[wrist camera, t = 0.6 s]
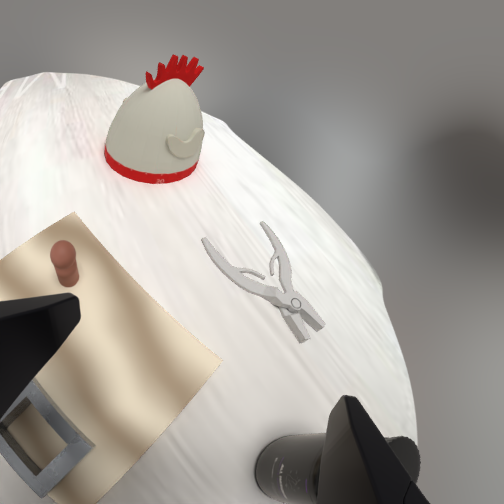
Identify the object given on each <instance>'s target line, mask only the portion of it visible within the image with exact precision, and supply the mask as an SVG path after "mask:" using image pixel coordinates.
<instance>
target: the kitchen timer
mask: <svg viewBox="0 0 504 504" xmlns="http://www.w3.org/2000/svg"><path fill="white" fill-rule="evenodd" d="M187 59H188V57H186V56H184V55H182V57H181V59H180V61H179V63H178V56H176V55H172V57H171V59H170V61H169V63H168V65H167V67H166V68H165V65H164V64H162V63H159V64H158V73H157V77H156V78H155V79H153V78H152V75H151V74H150V73H148V72H146V83H145V84H143V85H142V86H140V87H139V88H138V89H136V90H135V91H134V92H133V93H132V94H131V95H130V96H129V97H128V98H125V99H124V101H123V104H122V105H121V107H120V108H119V110H118V112H117V114H116V116H115V118H114V120H113V122H112V124H111V126H110V128H109V131H108V135H107V139H106V143H105V152H104V154H105V158H106V162H107V163H108V164H109V165H110V167H111V168H112V169H113V170H114V171H116V172H117V173H119V174H120V175H122V176H124V177H126V178H129V179H132V180H135V181H138V182H144V183H151V184H161V183H171V182H175V181H179V180H182V179H183V178H185V177H187V176H189V175H190V174H191V173H192V172H193V171H194V170H195V168H196V165H197V163H198V160H199V156H200V152H201V147H202V140H203V137H204V133H205V132H204V130H203V120H202V114H201V110H200V107H199V103H198V100H197V98H196V96H195V94H194V93H193V91H192V89H191V88H190V85H191V84H192V83H193V82H194V81H195V79H196V78H197V77H198V76H199V74H200V73H201V72H202V70H203V69H204V67H202V66H200V65H199V66H198V67H197V68H196V66H197V64H198V60H199V59H197V58H195V57H193V58H192V60H191V61H190V62H189V64H188V65H187ZM177 63H178V65H177ZM186 66H187V67H186Z"/></svg>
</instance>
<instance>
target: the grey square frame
mask: <svg viewBox="0 0 504 504" xmlns="http://www.w3.org/2000/svg"><path fill="white" fill-rule="evenodd" d="M31 403H32V404H33V405H34V407H35V408H36V409H37V410H38V412H39V413H40V414H41V415H42V417H43V418H44V419H45V420H46V421H47V422H48V424H49V425H50V426H51V427H52V428H53V429H54V430H55V432H56V433H57V434H58V435H59V436H60V437H61V438H62V439H63V440H64V441H65V442H66V443H67V444H68V445H67V446H66V447H65V448H64V449H63V450H62V451H61V452H60V453H59V454H58V455H57V456H56V457H55V458H54V459H53V460H52V461H51V462H50V463H49V464H48V465H47V466H46V467H45V468H44V469H43V470H41V469H40V468H39V467H38V466H37V465H36V464H35V463H34V462H33V461H32V459H31V458H30V457H29V456H28V455H27V454H26V453H25V451H24V450H23V449H22V448H21V447H20V445H19V444H18V443H17V442H16V440H15V439H14V438H13V437H12V435H11V434H10V433H9V431H8V430H7V428H8V427H9V425H10V424H11V423H12V422H13V421H14V420H15V419H16V418H17V417H18V416H19V415H20V414H21V413H22V412H23V411H24V410H25V409H26V408H27V407H28V406H29V405H30V404H31ZM95 446H96V445H95V444H94V443H93V442H92V441H91V440H90V439H89V438H88V437H86V436H85V435H84V434H83V433H82V432H81V431H80V430H79V429H78V428H77V426H76V425H75V424H74V423H73V422H72V421H71V420H70V419H69V418H68V417H67V416H66V415H65V414H64V412H63V411H62V410H61V409H60V408H59V407H58V406H57V404H56V403H55V402H54V401H53V400H52V398H51V397H50V396H49V395H48V394H47V392H46V391H45V390H44V388H43V387H42V386H41V385H40V383H39V382H38V381H37V379H36V378H35V377H34V378H33V379H32V381H31V382H30V383H29V384H28V385H27V387H26V388H25V389H24V390H23V391H22V393H21V394H20V395H19V396H18V398H17V399H16V400H15V401H14V403H13V404H12V405H11V406H10V408H9V409H8V410H7V412H6V413H5V414H4V416H3V417H2V418H1V420H0V453H1V454H2V456H3V457H4V458H5V459H6V461H7V462H8V463H9V464H10V466H11V467H12V468H13V469H14V470H15V471H16V473H17V474H18V475H19V476H20V477H21V478H22V479H23V480H24V481H25V482H26V484H27V485H28V486H29V487H30V488H31V489H32V490H33V491H34V492H35V493H36V494H37V495H38V496H39V497H40V498H43V497H44V496H46V495H47V494H48V493H49V492H50V491H51V490H52V489H54V488H55V487H56V486H57V485H58V484H59V483H60V482H61V481H62V480H63V479H64V478H65V477H66V476H67V475H68V474H69V473H70V472H71V471H72V470H73V469H74V468H75V467H76V466H77V465H78V464H79V463H80V462H81V461H82V460H83V459H84V458H85V457H86V456H87V455H88V454H89V453H90V452H91V450H92V449H93V448H94V447H95Z"/></svg>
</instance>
